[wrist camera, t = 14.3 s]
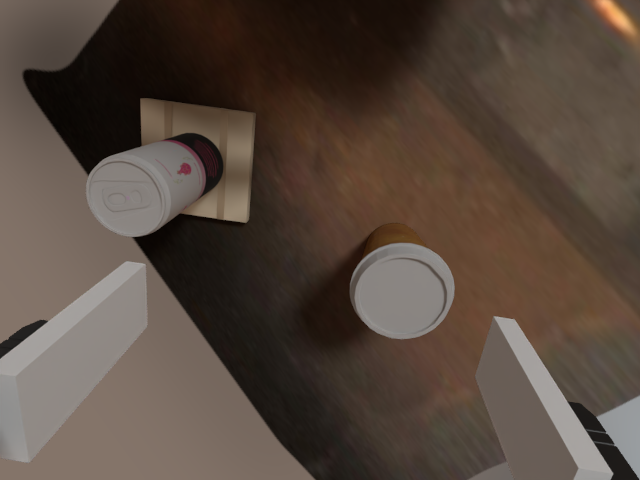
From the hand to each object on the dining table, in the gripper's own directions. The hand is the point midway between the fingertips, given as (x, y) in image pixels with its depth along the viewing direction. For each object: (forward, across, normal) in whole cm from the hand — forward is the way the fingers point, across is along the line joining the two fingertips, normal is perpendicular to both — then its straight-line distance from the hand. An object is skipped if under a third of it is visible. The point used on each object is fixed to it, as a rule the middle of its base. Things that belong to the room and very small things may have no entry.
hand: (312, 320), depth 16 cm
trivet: (+33, -16, -2) cm, 36 cm away
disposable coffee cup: (+33, +7, -9) cm, 35 cm away
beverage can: (+32, -16, -2) cm, 35 cm away
